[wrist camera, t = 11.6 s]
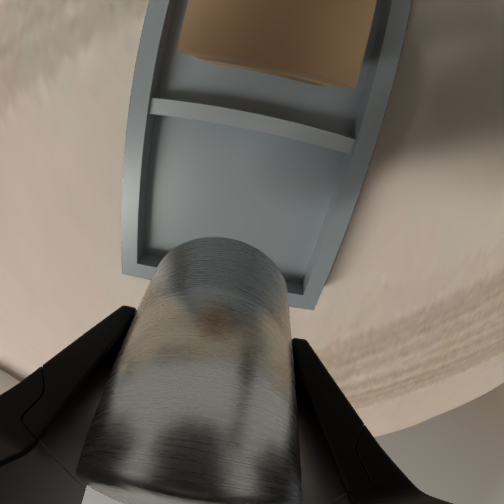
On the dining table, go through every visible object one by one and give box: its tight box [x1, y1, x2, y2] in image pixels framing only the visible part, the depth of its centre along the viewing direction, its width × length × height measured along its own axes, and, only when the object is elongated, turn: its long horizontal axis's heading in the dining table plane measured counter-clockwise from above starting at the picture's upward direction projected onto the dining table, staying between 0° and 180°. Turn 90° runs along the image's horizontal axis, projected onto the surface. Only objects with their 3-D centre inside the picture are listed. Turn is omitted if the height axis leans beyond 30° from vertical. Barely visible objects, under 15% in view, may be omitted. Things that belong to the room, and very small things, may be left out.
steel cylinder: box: [75, 237, 302, 504], centre depth 7 cm, size 5×5×7 cm
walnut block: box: [177, 0, 377, 88], centre depth 9 cm, size 5×5×7 cm
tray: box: [121, 0, 412, 310], centre depth 14 cm, size 12×20×2 cm, turn 168°
